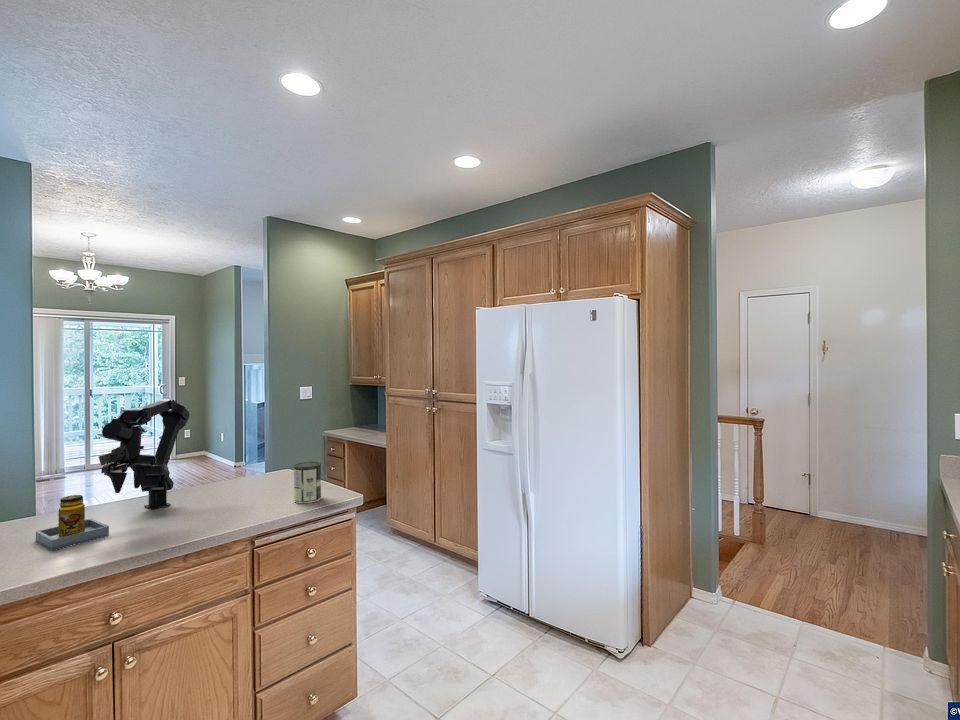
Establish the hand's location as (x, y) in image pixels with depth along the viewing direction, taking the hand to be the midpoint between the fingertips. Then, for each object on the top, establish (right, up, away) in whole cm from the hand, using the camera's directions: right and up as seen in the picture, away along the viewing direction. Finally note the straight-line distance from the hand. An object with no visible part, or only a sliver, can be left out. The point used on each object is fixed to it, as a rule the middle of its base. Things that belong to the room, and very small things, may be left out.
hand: (126, 490), depth 153 cm
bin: (-8, -12, -11) cm, 18 cm away
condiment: (-9, -11, -11) cm, 18 cm away
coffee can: (+49, -12, +29) cm, 58 cm away
